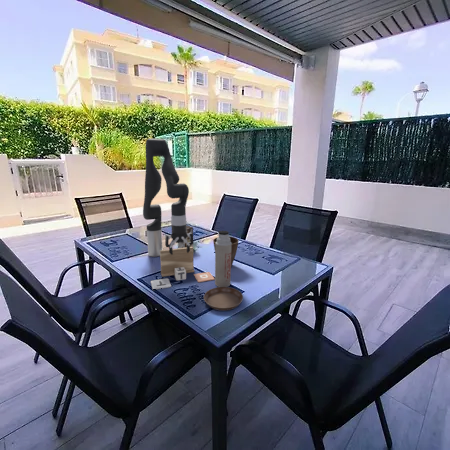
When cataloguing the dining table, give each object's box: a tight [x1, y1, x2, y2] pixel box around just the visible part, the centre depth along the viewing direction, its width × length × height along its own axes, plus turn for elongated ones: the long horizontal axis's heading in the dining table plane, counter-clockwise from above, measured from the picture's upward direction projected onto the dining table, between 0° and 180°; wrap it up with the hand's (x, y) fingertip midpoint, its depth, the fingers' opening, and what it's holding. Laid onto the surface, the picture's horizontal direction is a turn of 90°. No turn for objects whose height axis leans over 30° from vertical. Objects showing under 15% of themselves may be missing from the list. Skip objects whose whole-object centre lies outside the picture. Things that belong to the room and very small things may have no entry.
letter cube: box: [174, 267, 187, 281], centre depth 139 cm, size 5×5×5 cm
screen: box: [159, 246, 195, 278], centre depth 144 cm, size 5×18×14 cm, turn 112°
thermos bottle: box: [214, 230, 232, 287], centre depth 130 cm, size 8×8×28 cm
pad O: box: [193, 271, 215, 283], centre depth 140 cm, size 9×9×1 cm
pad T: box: [150, 277, 172, 290], centre depth 132 cm, size 9×9×1 cm
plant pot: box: [212, 236, 239, 267], centre depth 154 cm, size 15×15×16 cm
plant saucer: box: [203, 286, 244, 312], centre depth 117 cm, size 18×18×3 cm
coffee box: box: [177, 225, 194, 248], centre depth 179 cm, size 9×6×16 cm
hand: (179, 253), depth 136 cm, fingers open, 8 cm apart
